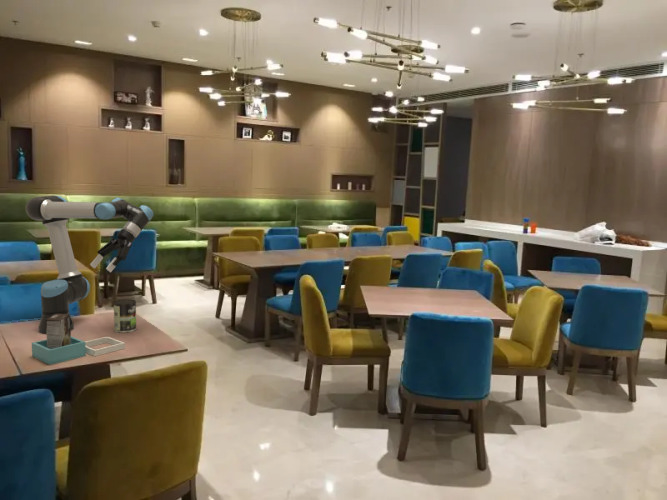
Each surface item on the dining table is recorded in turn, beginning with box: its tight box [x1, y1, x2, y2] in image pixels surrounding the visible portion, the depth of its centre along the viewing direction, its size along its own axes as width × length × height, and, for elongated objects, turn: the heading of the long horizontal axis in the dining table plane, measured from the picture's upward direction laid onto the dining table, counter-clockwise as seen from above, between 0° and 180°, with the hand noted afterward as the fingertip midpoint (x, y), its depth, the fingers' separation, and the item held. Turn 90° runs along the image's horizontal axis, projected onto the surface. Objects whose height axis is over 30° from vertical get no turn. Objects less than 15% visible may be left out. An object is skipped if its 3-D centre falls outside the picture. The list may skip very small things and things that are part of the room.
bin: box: [31, 335, 87, 366], centre depth 233 cm, size 15×15×6 cm
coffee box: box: [46, 313, 72, 349], centre depth 232 cm, size 9×6×16 cm
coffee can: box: [113, 298, 137, 334], centre depth 272 cm, size 10×10×14 cm
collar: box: [84, 336, 126, 357], centre depth 244 cm, size 14×14×2 cm
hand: (100, 268), depth 255 cm, fingers open, 13 cm apart
